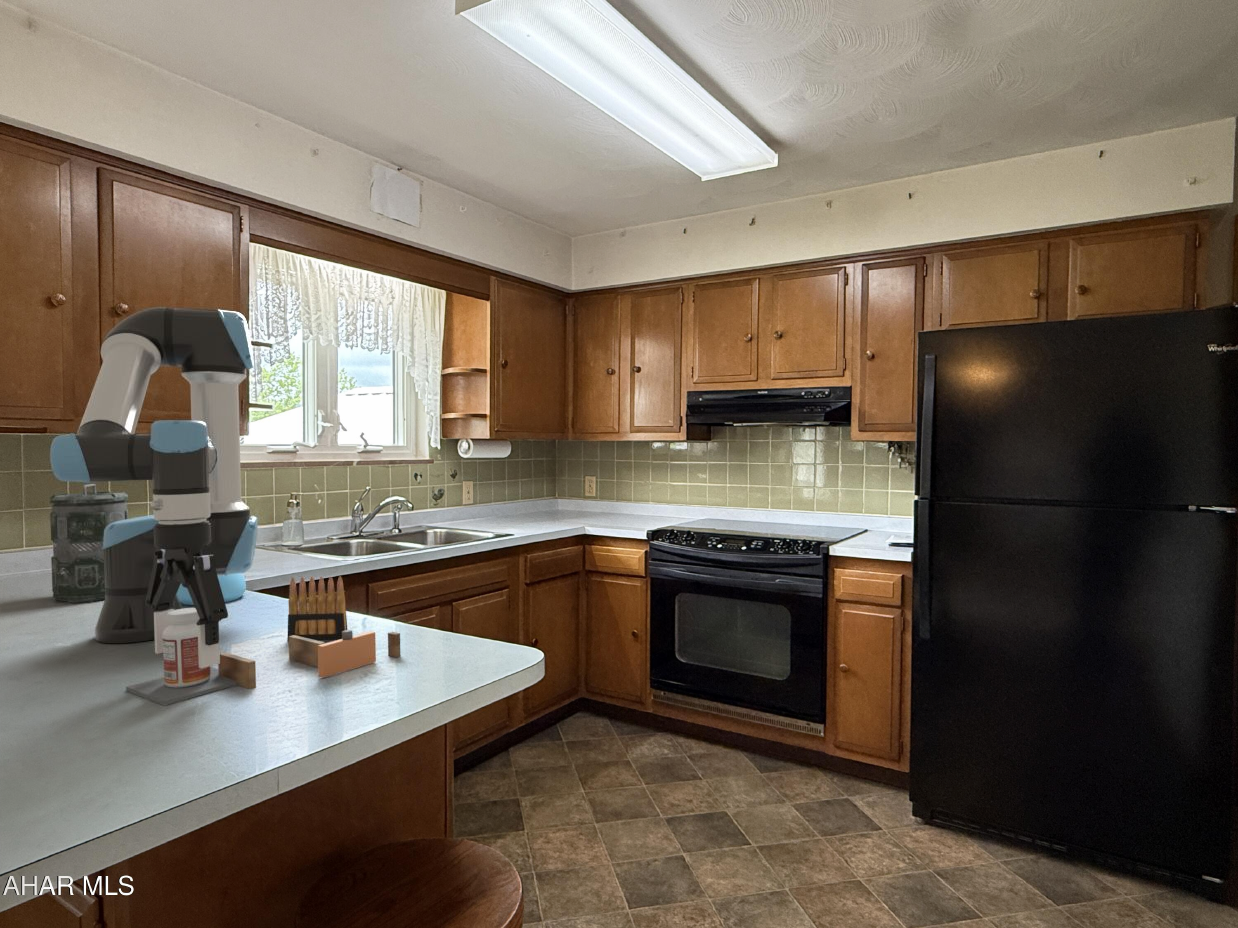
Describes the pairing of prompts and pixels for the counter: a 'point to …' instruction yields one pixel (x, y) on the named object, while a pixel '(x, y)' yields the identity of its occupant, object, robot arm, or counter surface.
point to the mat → (179, 689)
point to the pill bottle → (182, 650)
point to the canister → (82, 542)
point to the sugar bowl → (229, 585)
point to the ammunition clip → (317, 611)
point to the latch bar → (346, 653)
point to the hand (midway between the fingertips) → (186, 658)
